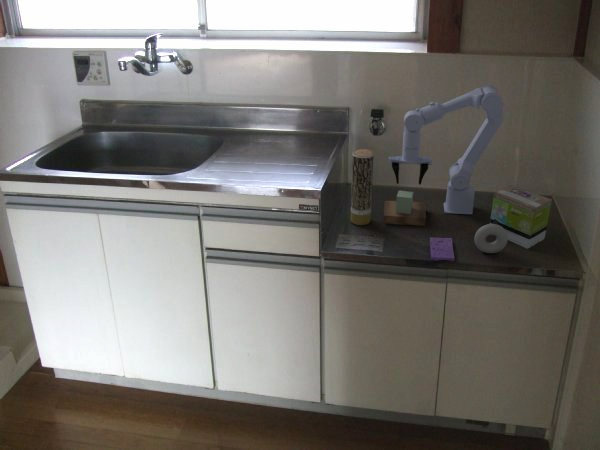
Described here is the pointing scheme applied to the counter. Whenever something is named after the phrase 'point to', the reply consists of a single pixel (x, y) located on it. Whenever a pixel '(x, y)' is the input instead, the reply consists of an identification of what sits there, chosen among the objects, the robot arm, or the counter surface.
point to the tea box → (521, 215)
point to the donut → (491, 230)
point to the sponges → (441, 249)
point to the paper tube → (361, 186)
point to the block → (404, 202)
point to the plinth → (404, 219)
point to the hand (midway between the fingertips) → (408, 183)
